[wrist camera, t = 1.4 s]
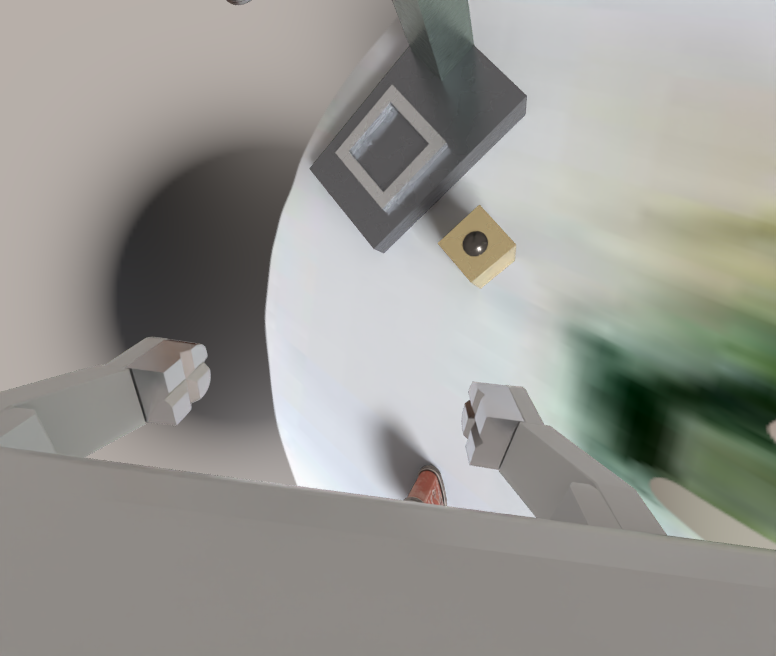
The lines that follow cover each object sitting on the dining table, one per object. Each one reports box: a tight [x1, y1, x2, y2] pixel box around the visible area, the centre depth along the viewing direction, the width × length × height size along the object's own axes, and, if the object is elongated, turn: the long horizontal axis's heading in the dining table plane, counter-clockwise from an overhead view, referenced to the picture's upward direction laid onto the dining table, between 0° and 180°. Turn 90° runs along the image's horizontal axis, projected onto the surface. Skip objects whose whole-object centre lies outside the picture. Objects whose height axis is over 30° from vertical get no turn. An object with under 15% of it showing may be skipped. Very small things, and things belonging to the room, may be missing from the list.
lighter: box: [404, 465, 447, 506], centre depth 33 cm, size 8×3×10 cm, turn 7°
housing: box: [438, 205, 516, 289], centre depth 30 cm, size 4×4×9 cm
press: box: [227, 0, 527, 253], centre depth 21 cm, size 20×18×33 cm
